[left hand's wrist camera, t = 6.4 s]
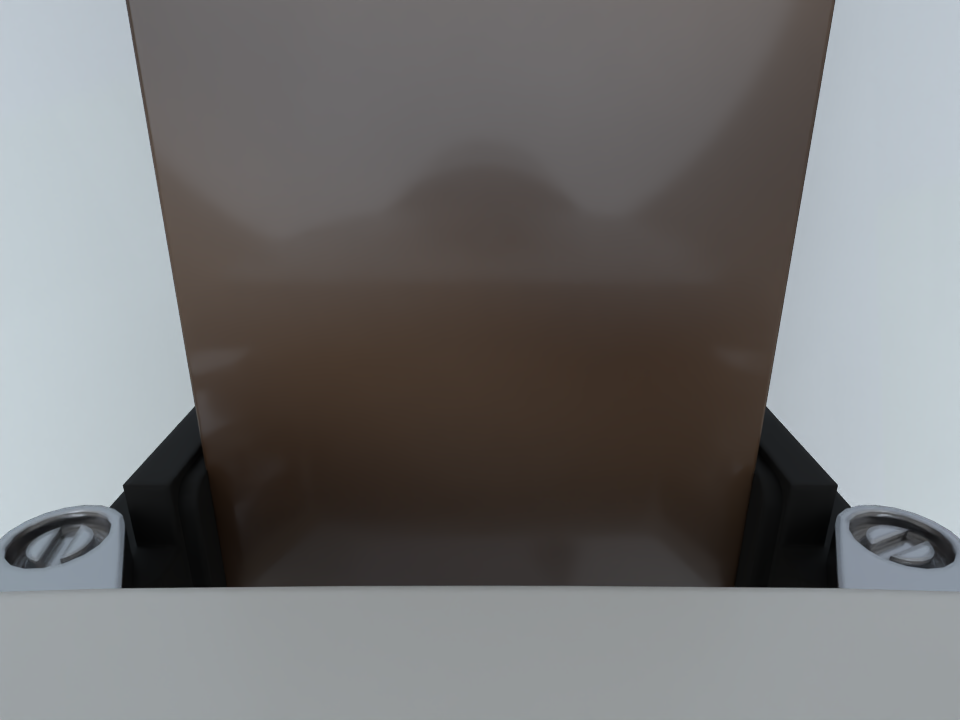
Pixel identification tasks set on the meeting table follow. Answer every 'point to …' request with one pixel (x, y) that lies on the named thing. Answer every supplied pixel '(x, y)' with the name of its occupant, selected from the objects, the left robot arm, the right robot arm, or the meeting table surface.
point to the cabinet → (480, 276)
